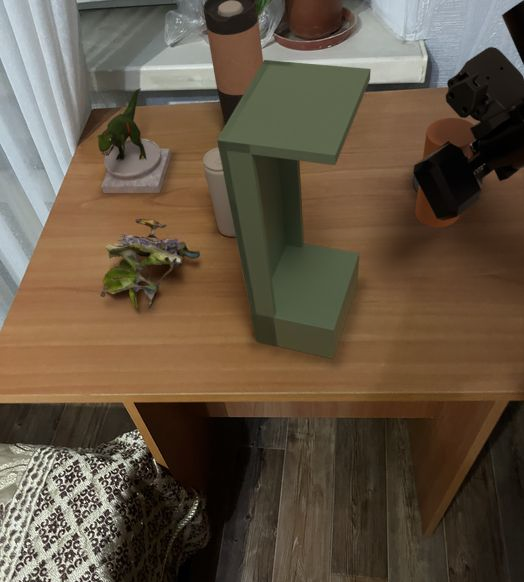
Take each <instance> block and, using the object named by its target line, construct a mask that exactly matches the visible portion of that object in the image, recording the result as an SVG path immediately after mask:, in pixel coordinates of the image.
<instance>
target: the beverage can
mask: <svg viewBox="0 0 524 582" xmlns="http://www.w3.org/2000/svg"><path fill="white" fill-rule="evenodd" d="M202 159H203V161H202V162H203V172H204V176H205V180H206V183H207V184H206V185H207V188H208V192H209V196H210V199H211V203H212V208H213V213H214V217H215V221H216V225H217V229H218V231H219V233H220V234H222V235H224V236H225V237H228V238H236V235H235V230H234V225H233V220H232V215H231V210H230V205H229V199H228V194H227V189H226V184H225V179H224V174H223V169H222V164H221V159H220V153H219V148H218V147H214V148H212V149H210V150H208V151H207V152H206V153H205V155H204V156H203V158H202Z"/></svg>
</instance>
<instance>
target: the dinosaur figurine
mask: <svg viewBox="0 0 524 582" xmlns="http://www.w3.org/2000/svg"><path fill="white" fill-rule="evenodd" d="M141 89H142V88H141V87H140V88H138V89H136V90H135V91H134V93H133V94H132V96H131V98H130V100H129V103H128V105H127V108H126V109H125V110H124V111H123V113H119V114H117V115H116V116H114V117H113V118H112V119H110V121H109V122H108V123H107V127H106V129H105V130H104V131H103V132H102V133H101V134H99V135H97V136H96V137H97V140H98V143H97V144H98V150H99V152H100V154H102V156H104V161H103V162H104V167H105V169H106V170H107V171H106V173H105V176H104V178H103V181H102V183H101V186H100V187H101V189H102V192H103V194H160V193H161V192H162V187H163V185H164V181H165V179H166V174H167V171H168V168H169V164H170V161H171V158H172V152H171V148H170V147H169V148H166V147H165V148H164V147H163V148H162V147H161V148H160V146H159V145H158V143H156V142H154V141H153V140H150V139H147V138H141V130H140V129H139V127H138V125H137V123H136V122H135V121H134V120H135V115H136V107H137V102H138V96H139V92H140V91H141ZM128 138H129V139H128Z"/></svg>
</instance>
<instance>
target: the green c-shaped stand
mask: <svg viewBox="0 0 524 582" xmlns="http://www.w3.org/2000/svg"><path fill="white" fill-rule="evenodd" d="M370 81H371V68H365V67H353V66H351V67H350V66H341V65H329V64H319V63H318V64H317V63H308V62H307V63H306V62H305V63H304V62H295V61H294V62H293V61H283V60H272V59H271V60H270V59H263V63H262V64H261V66H260V68H259V70H258V71H257V73H256V75H255V76H254V78H253V80H252V81H251V83H250V85H249V86H248V88H247V90H246V91H245V93H244V95H243V97H242V98H241V100H240V102H239V103H238V105H237V107H236V108H235V110H234V112H233V113H232V115H231V117H230V118H229V120H228V122H227V123H226V125H225V124H224V126H223V128H222V131H220V134H219V135H218V137H217V138H216V142H217V148H219V153H220V159H221V164H222V169H223V174H224V179H225V184H226V189H227V194H228V199H229V205H230V210H231V215H232V220H233V225H234V230H235V235H236V237H235V240H236V245H237V250H238V251H237V252H238V255H239V260H240V266H241V271H242V275H243V280H244V286H245V291H246V295H247V301H248V302H247V303H248V307H249V312H250V316H251V321H252V326H253V332H254V337H255V341H256V343H260V344H265V345H269V346H274V347H278V348H281V349H285V350H286V349H287V350H292V351H296V352H300V353H304V354H308V355H313V356H316V357H317V356H318V357H322V358H326V359H331V360H334V359H335V356H336V353H337V350H338V347H339V344H340V341H341V338H342V335H343V332H344V328H345V325H346V322H347V319H348V316H349V313H350V310H351V306H352V303H353V300H354V297H355V294H356V291H357V288H358V283H359V282H358V281H359V268H360V267H359V265H360V252H356V251H350V250H344V249H338V248H333V247H328V246H323V245H322V246H321V245H315V244H310V243H306V242H305V234H304V232H305V231H304V217H303V198H302V182H301V181H302V180H301V164H300V163H301V162H307V163H315V164H322V165H328V166H336V165H337V162H338V160H339V158H340V154H341V152H342V149H343V148H344V146H345V144H346V140H347V137H348V135H349V132H350V130H351V127H352V126H353V122H354V120H355V117H356V115H357V113H358V110H359V108H360V106H361V104H362V101H363V99H364V95H365V93H366V91H367V88H368V85H369V83H370Z"/></svg>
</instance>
